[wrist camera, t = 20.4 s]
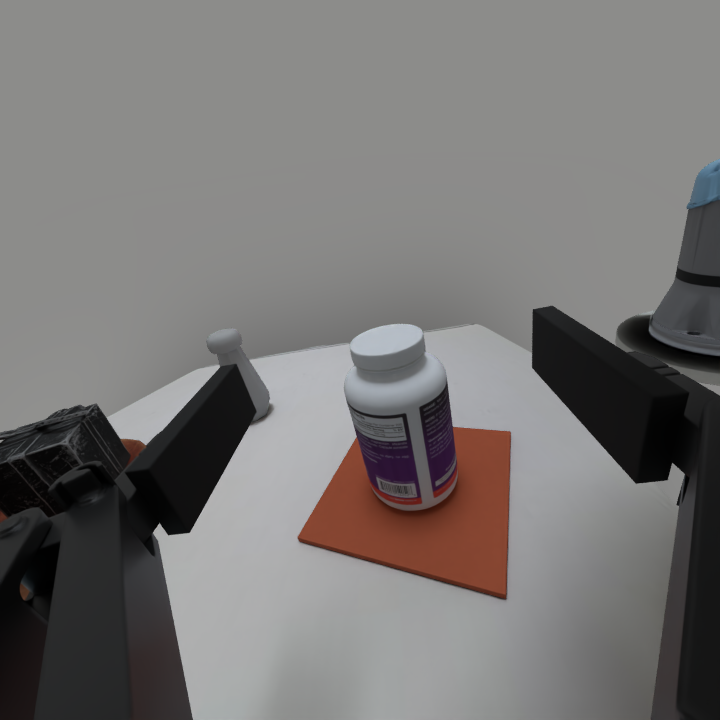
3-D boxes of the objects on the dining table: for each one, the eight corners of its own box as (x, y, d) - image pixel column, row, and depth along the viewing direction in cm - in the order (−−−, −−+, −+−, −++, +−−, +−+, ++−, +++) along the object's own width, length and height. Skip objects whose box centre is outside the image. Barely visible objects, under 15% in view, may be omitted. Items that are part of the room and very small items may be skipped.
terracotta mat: (510, 435, 34) (510, 431, 34) (506, 599, 21) (505, 595, 21) (367, 423, 41) (366, 419, 41) (298, 541, 28) (297, 537, 28)
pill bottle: (435, 440, 35) (416, 309, 29) (477, 497, 28) (463, 339, 21) (361, 465, 34) (326, 335, 28) (385, 531, 27) (343, 376, 20)
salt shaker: (281, 409, 48) (250, 326, 43) (246, 431, 45) (207, 344, 39) (262, 398, 52) (231, 321, 47) (228, 418, 49) (191, 337, 43)
